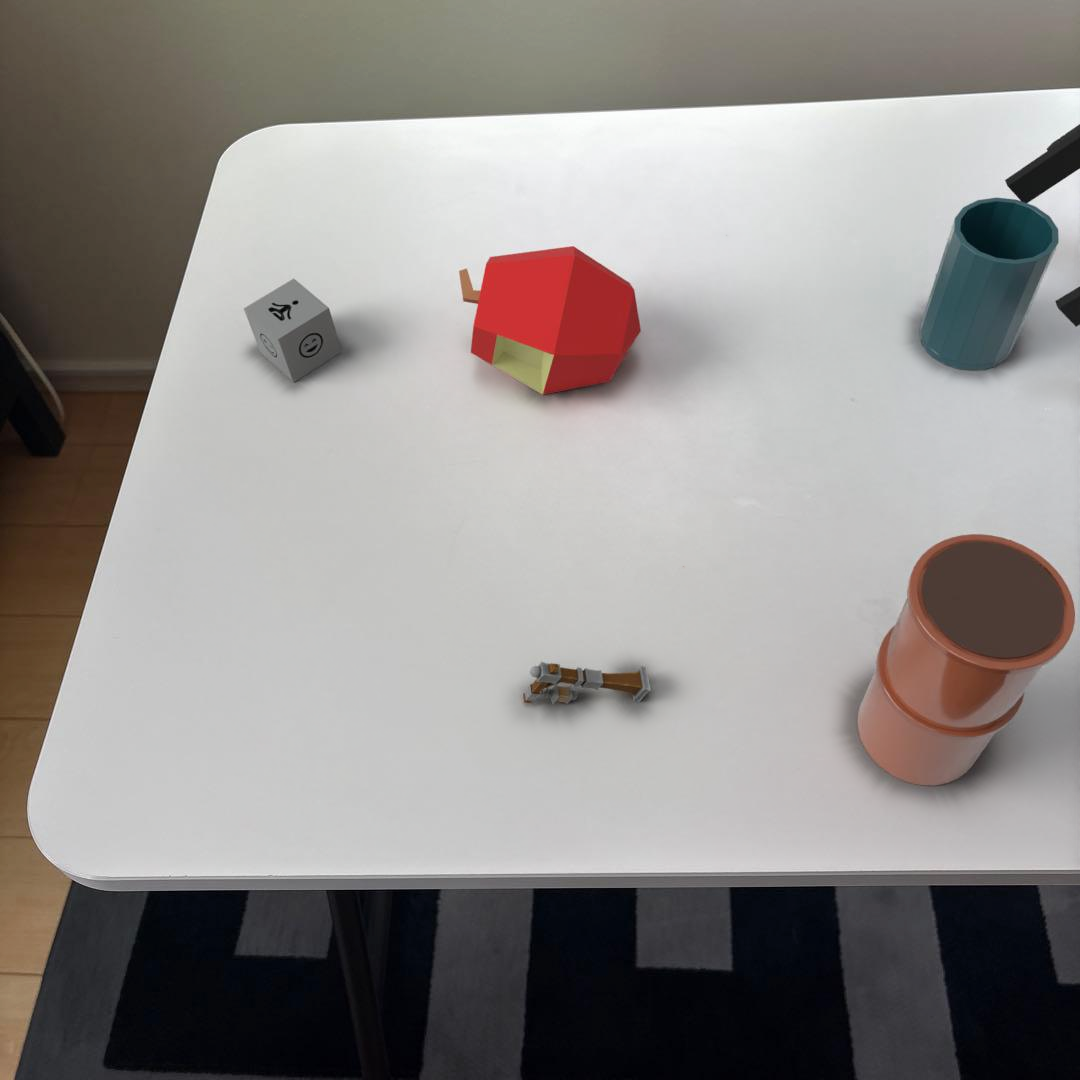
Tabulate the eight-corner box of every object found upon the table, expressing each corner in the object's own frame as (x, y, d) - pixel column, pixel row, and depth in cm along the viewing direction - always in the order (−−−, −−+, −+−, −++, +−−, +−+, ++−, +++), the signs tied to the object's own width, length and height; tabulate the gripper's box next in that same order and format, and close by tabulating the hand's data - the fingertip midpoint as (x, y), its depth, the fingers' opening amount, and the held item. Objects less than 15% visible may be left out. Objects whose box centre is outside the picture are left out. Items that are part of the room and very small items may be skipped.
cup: (1011, 376, 84) (1059, 268, 75) (917, 363, 86) (952, 256, 77) (1012, 313, 88) (1057, 203, 79) (921, 301, 90) (956, 192, 81)
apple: (618, 436, 85) (433, 397, 84) (629, 335, 92) (459, 298, 91) (656, 324, 75) (448, 279, 75) (665, 222, 83) (476, 179, 82)
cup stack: (984, 803, 65) (1078, 682, 52) (847, 775, 67) (905, 651, 53) (986, 685, 70) (1074, 546, 56) (857, 661, 71) (914, 521, 58)
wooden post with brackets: (509, 685, 70) (533, 652, 67) (619, 694, 73) (647, 663, 70) (511, 709, 69) (536, 677, 66) (622, 719, 72) (651, 688, 69)
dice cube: (260, 352, 91) (243, 308, 87) (308, 322, 92) (293, 278, 88) (293, 382, 88) (278, 339, 84) (341, 351, 90) (328, 307, 86)
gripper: (1476, 209, 62) (1114, 396, 75) (1297, -16, 76) (1019, 174, 89) (1441, 134, 58) (1063, 346, 71) (1258, -89, 72) (972, 121, 85)
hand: (1038, 250), depth 80 cm, fingers open, 13 cm apart
